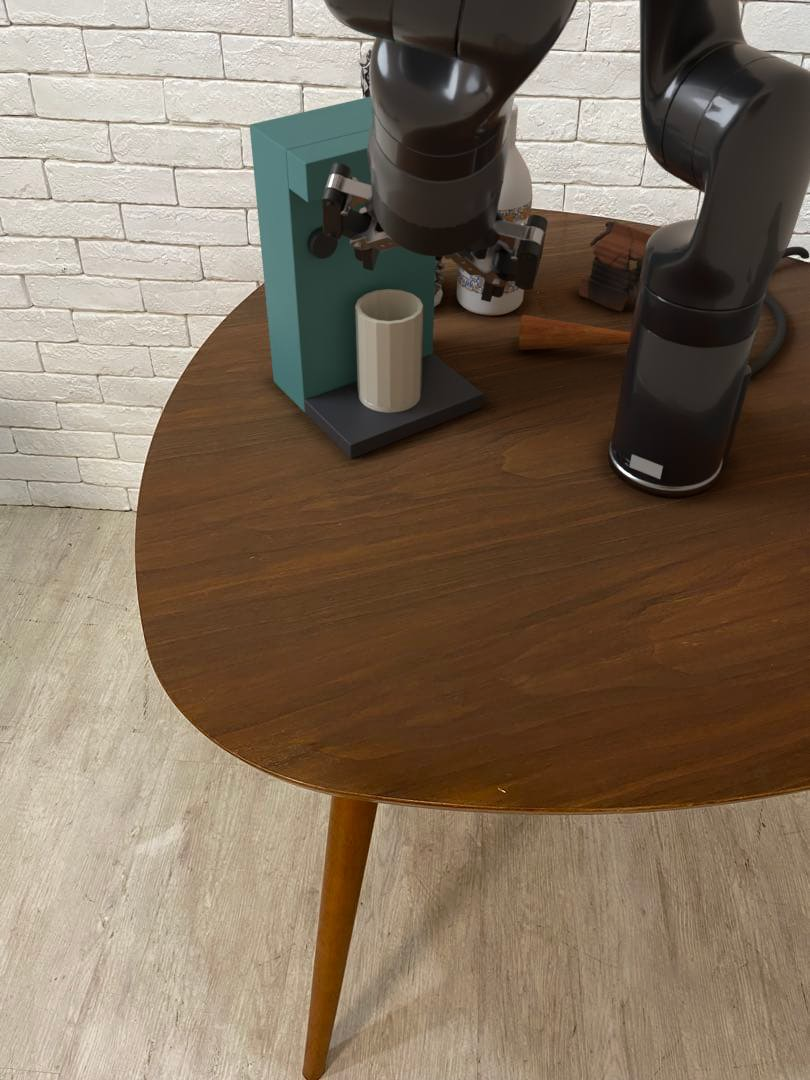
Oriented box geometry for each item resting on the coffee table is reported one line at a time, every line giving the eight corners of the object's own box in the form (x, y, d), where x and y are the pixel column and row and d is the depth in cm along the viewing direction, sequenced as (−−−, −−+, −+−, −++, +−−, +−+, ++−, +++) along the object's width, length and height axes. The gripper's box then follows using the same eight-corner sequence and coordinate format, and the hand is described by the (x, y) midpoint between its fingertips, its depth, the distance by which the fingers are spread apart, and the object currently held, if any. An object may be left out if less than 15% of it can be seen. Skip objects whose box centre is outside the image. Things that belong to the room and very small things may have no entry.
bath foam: (482, 324, 106) (494, 125, 92) (443, 295, 110) (449, 101, 97) (536, 305, 109) (555, 109, 95) (495, 278, 113) (509, 87, 99)
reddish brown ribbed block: (555, 287, 112) (583, 211, 110) (621, 310, 117) (650, 237, 115) (620, 313, 103) (652, 230, 100) (689, 336, 107) (722, 257, 105)
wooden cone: (526, 292, 103) (738, 302, 98) (524, 350, 106) (730, 362, 102) (518, 312, 98) (741, 323, 94) (516, 373, 101) (732, 385, 97)
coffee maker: (398, 338, 104) (398, 89, 88) (482, 407, 95) (500, 145, 79) (273, 381, 98) (248, 124, 82) (351, 459, 90) (340, 188, 73)
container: (346, 400, 93) (342, 311, 87) (380, 370, 97) (379, 282, 91) (399, 420, 91) (399, 329, 85) (432, 389, 95) (434, 300, 89)
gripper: (579, 131, 58) (541, 250, 74) (332, 66, 58) (347, 198, 75) (545, 256, 57) (514, 349, 73) (294, 189, 58) (318, 296, 74)
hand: (430, 272), depth 74 cm, fingers open, 8 cm apart
